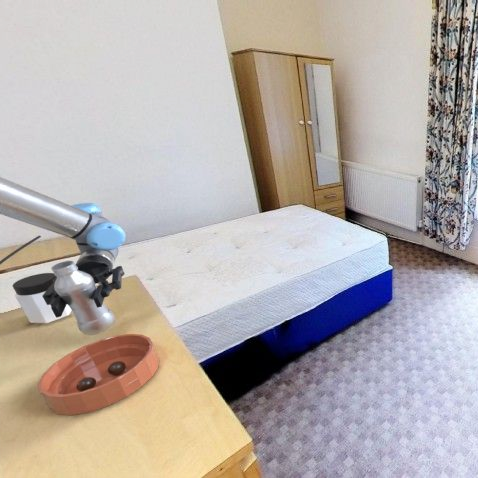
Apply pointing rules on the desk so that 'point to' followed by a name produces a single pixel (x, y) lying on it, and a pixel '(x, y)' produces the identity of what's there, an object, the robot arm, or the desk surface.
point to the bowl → (99, 374)
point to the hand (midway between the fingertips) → (77, 307)
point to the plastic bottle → (81, 298)
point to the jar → (37, 298)
